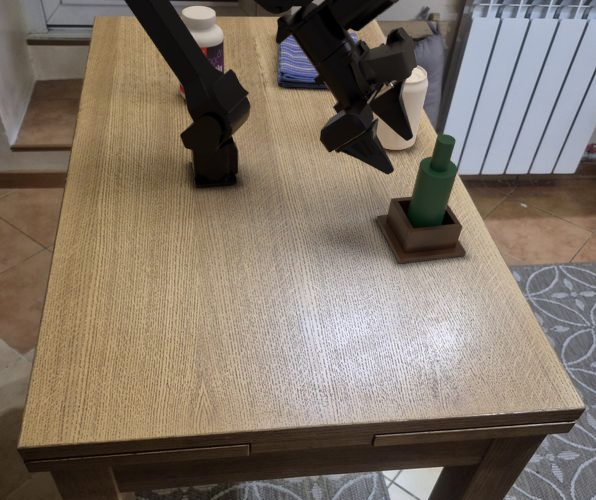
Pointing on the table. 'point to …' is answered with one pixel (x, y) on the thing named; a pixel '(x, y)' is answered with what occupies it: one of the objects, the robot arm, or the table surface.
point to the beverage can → (413, 105)
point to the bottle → (433, 185)
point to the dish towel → (297, 65)
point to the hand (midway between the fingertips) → (400, 155)
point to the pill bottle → (205, 35)
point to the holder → (420, 235)
